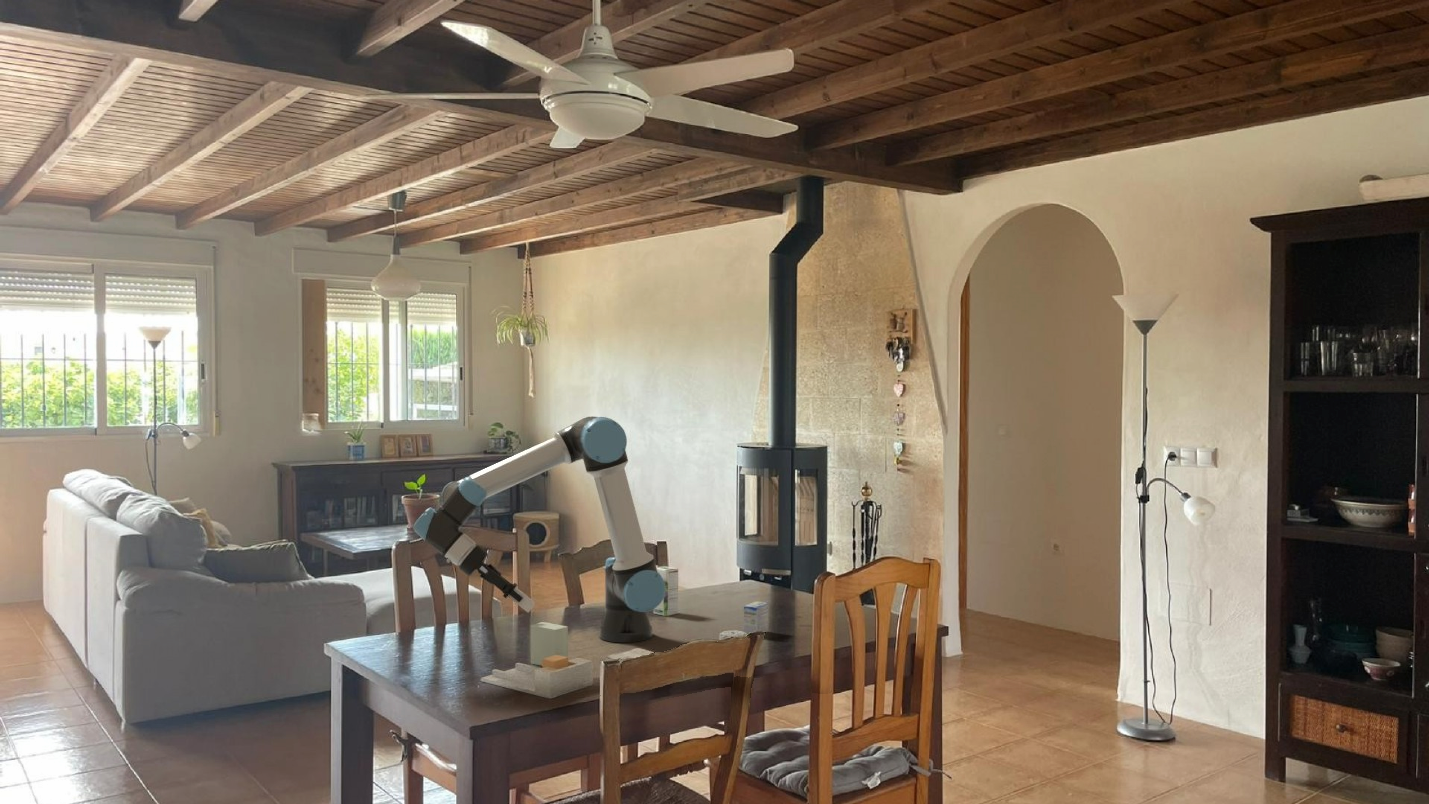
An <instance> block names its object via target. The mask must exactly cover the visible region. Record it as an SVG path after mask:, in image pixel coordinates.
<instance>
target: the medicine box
mask: <svg viewBox="0 0 1429 804" xmlns="http://www.w3.org/2000/svg"><path fill="white" fill-rule="evenodd" d="M769 604H770V603H768V602H765V601H753V602H751V603H748V604H746V605H744V606H743V632H746V633H747V634H748V633H749V632H754V631H764V632H766V633H767V632H769V617H770V615H769V614H770V613H769V610H770V608H769V606H770V605H769Z"/></svg>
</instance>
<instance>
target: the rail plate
mask: <svg viewBox="0 0 1429 804" xmlns="http://www.w3.org/2000/svg"><path fill="white" fill-rule="evenodd" d="M514 665H515V666H514V668H511V669H510V668H509V669H508V670H500V669H497V668H496V669H492V670H491V674H490V675H486V676H483V677H480V682H483V683H486V684H490V685H495V686H498V687H502V688H506V689H510V690H514V691H517V692H522V693H526V694H530V695H533V696H534V695H535V696H538V697H541V698H545V699H549V700H551V699H553V698H557V697H561V696H563V695H566V694H569V693H572V692H575V691H578V690H582V689H584V688H588V687H591V686H593V685H594V684H593V660H589V659H586V658H582V657H581V658H580V657H575V658H572V659H568V667H565V668H562V669H556V668H552V667H548V666H547V667H544V668H542V667H538V666H534V665H532V664H531V665H530V664H526V663H521V662H517V663H515V664H514Z"/></svg>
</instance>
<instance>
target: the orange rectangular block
mask: <svg viewBox="0 0 1429 804" xmlns="http://www.w3.org/2000/svg"><path fill="white" fill-rule="evenodd" d="M568 660H569V656H568V657H564V656H560V655H553V656H550V657H546V658H543V659H542V666H541V668H544V667H547V666H548V667H552V668H556V669H562V668H565V667H568Z"/></svg>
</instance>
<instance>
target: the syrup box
mask: <svg viewBox="0 0 1429 804" xmlns="http://www.w3.org/2000/svg"><path fill="white" fill-rule="evenodd" d="M656 568H657V572H658V573H659V574H660V575H661V577H662V578H663V580H664V582H665V586H666V591H665V596H664V598H663V600H662V602H661V603H660V604H659V605H658V606H657V607H656V608H655V609H653V614H654V615H658V616H659V615H660V616H662V617H663V616H664V617H669V616H672V615H676V614H679V568H678V567H677V568H676V567H670V566H658V567H657V566H656Z"/></svg>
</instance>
